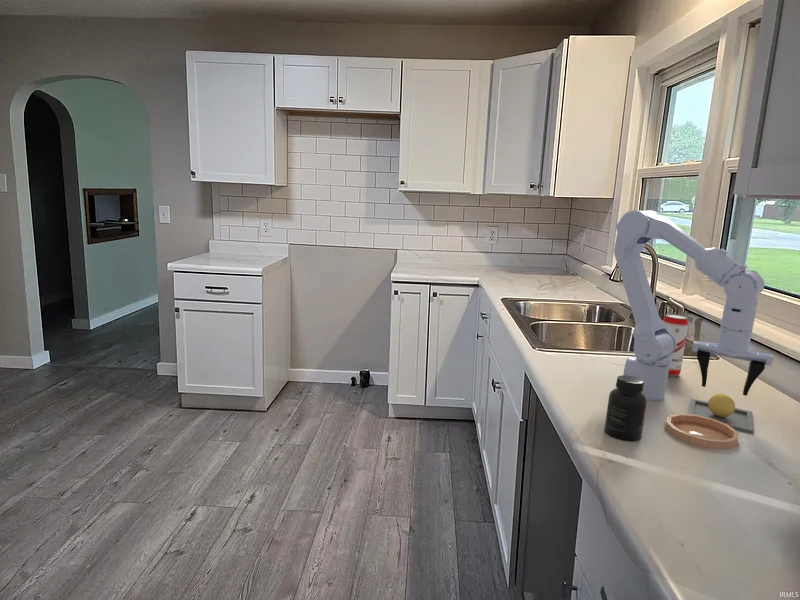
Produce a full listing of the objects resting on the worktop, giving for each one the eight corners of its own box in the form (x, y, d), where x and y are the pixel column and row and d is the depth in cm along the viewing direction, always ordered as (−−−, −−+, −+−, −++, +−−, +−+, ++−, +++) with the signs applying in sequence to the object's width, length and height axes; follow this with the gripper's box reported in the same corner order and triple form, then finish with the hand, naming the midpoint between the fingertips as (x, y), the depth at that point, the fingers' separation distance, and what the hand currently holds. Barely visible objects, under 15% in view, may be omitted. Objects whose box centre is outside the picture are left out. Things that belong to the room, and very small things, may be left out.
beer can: (684, 375, 147) (694, 317, 144) (671, 379, 144) (681, 319, 140) (662, 368, 152) (671, 312, 149) (649, 371, 149) (658, 314, 145)
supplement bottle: (648, 444, 105) (657, 385, 102) (615, 445, 104) (624, 385, 101) (628, 429, 111) (636, 372, 109) (597, 429, 110) (604, 373, 108)
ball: (705, 416, 118) (709, 394, 117) (707, 409, 122) (711, 388, 121) (732, 423, 115) (736, 400, 114) (733, 415, 119) (737, 393, 118)
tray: (685, 421, 117) (687, 415, 116) (690, 404, 127) (691, 398, 126) (752, 437, 111) (753, 430, 110) (751, 417, 121) (752, 411, 120)
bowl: (661, 439, 107) (663, 429, 107) (668, 418, 118) (670, 408, 117) (736, 458, 101) (738, 447, 100) (736, 434, 111) (738, 424, 111)
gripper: (695, 325, 115) (684, 386, 118) (778, 339, 108) (764, 404, 110) (698, 319, 121) (687, 377, 124) (776, 332, 113) (763, 393, 116)
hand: (724, 389), depth 117 cm, fingers open, 7 cm apart
